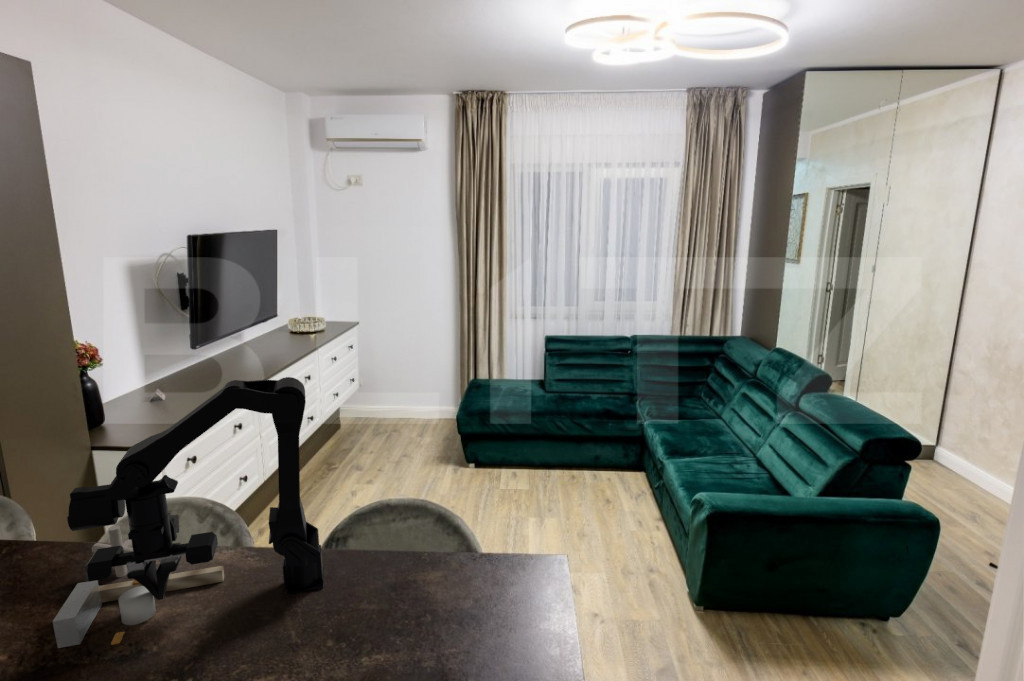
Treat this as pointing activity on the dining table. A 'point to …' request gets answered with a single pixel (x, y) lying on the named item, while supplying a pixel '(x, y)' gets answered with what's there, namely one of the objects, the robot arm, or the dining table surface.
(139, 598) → the grey egg-shaped dome
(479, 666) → the dining table surface
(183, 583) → the oak rail
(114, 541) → the pipe connector
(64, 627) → the block
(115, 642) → the small orange-brown block
